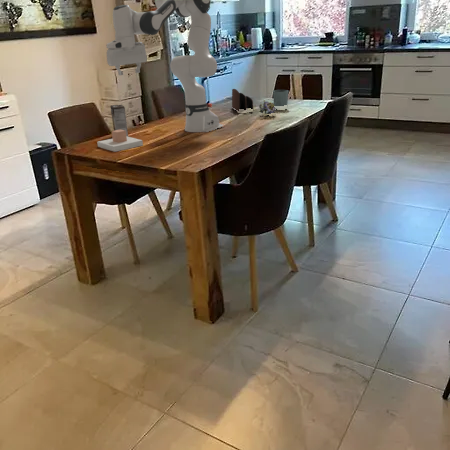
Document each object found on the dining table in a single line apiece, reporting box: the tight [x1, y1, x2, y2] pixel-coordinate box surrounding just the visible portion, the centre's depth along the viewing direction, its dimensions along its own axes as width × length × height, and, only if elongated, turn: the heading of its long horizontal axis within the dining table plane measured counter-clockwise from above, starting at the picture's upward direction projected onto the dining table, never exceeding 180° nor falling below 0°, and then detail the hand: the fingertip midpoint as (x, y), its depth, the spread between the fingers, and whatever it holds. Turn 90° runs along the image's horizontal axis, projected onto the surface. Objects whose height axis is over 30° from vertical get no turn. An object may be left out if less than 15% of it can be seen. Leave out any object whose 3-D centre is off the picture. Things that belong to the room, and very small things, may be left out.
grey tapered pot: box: [272, 89, 290, 106], centre depth 309 cm, size 10×10×12 cm
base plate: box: [96, 135, 144, 152], centre depth 233 cm, size 16×16×2 cm
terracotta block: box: [111, 129, 127, 143], centre depth 232 cm, size 5×5×5 cm
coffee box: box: [109, 104, 129, 137], centre depth 251 cm, size 9×6×16 cm
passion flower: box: [258, 99, 276, 115], centre depth 289 cm, size 11×11×12 cm
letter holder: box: [231, 88, 254, 111], centre depth 310 cm, size 10×20×14 cm, turn 12°
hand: (129, 74), depth 227 cm, fingers open, 8 cm apart
